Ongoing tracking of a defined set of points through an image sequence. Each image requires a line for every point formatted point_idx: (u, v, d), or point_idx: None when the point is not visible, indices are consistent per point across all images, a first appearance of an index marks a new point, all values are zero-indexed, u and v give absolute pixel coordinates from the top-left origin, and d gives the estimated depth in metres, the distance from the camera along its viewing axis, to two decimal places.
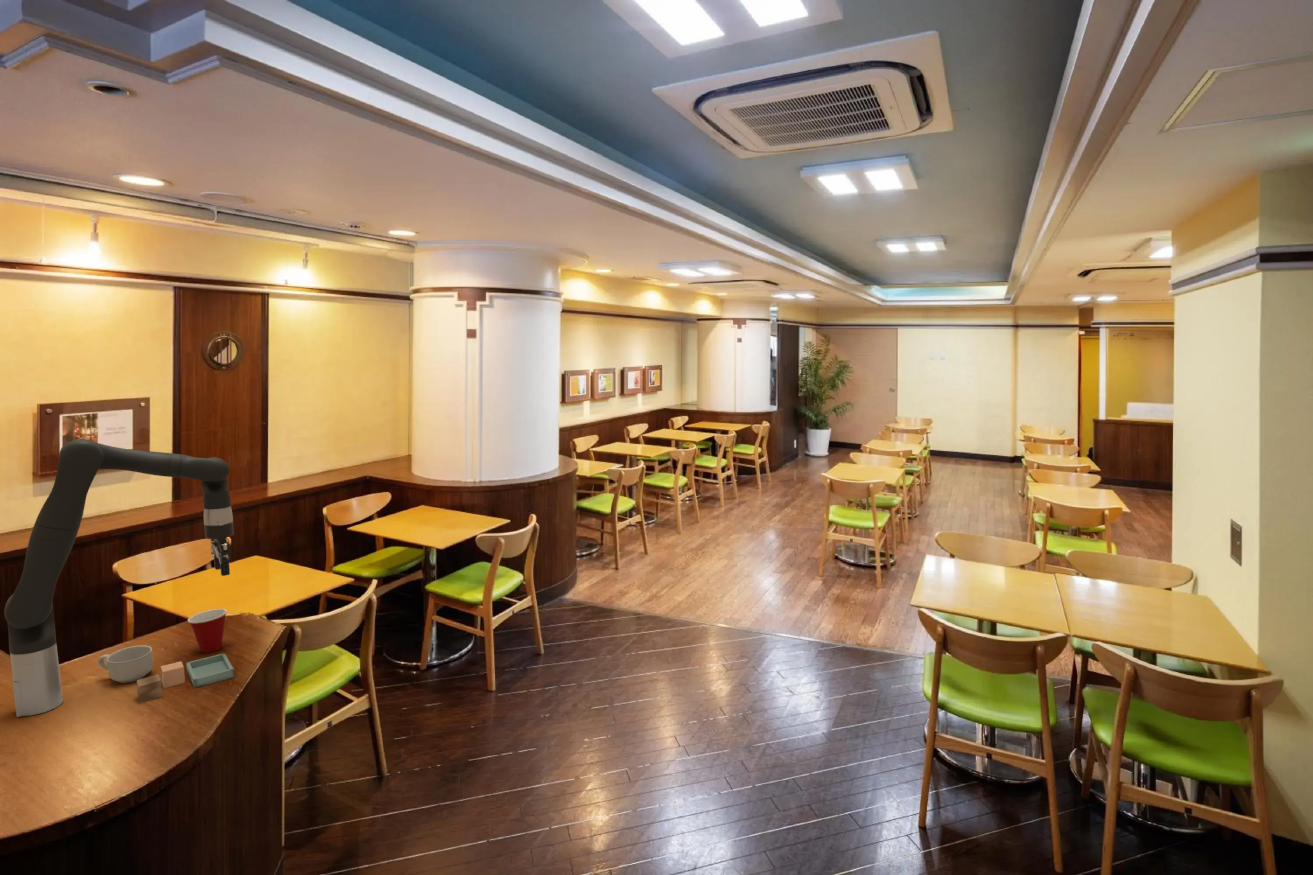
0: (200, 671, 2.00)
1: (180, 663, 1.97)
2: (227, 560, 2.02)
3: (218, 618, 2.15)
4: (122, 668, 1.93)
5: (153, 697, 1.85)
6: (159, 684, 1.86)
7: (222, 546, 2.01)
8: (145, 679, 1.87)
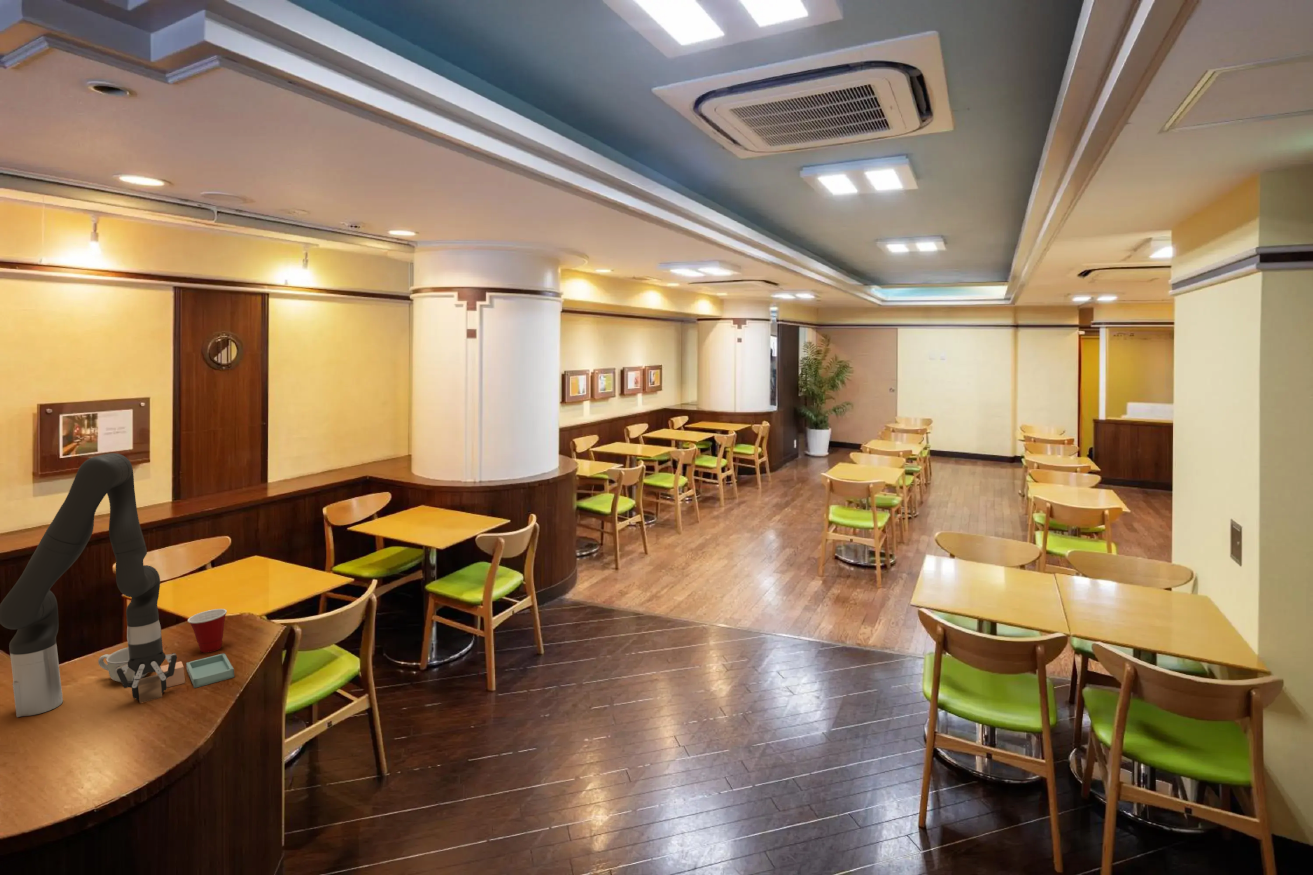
0: (200, 671, 2.00)
1: (180, 663, 1.97)
2: None
3: (218, 618, 2.15)
4: None
5: (153, 697, 1.85)
6: (159, 684, 1.86)
7: None
8: (145, 679, 1.87)
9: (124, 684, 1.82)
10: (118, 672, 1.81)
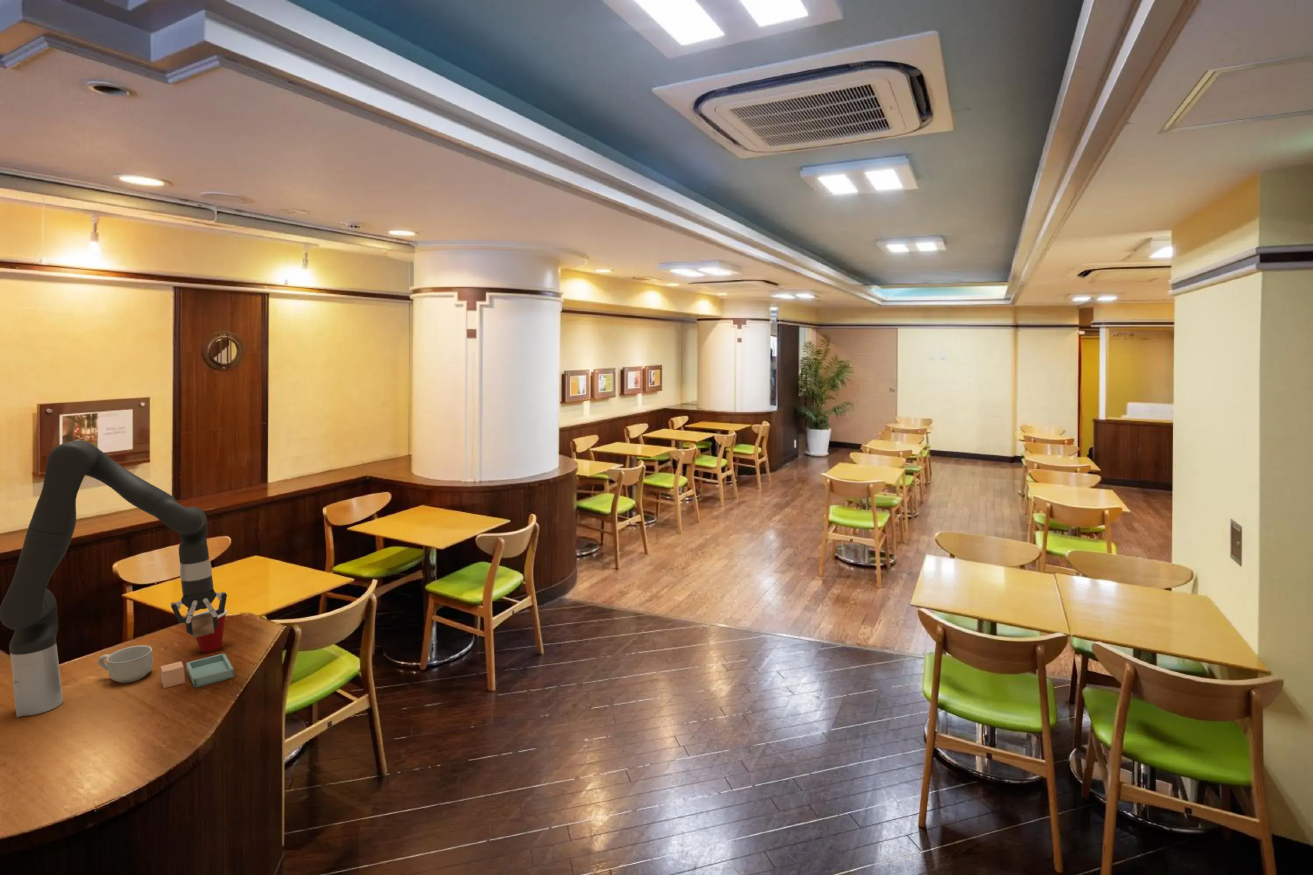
0: (200, 671, 2.00)
1: (180, 663, 1.97)
2: None
3: (218, 618, 2.15)
4: (122, 668, 1.93)
5: (206, 632, 1.93)
6: (211, 620, 1.94)
7: None
8: (197, 616, 1.95)
9: (179, 619, 1.90)
10: (173, 607, 1.89)
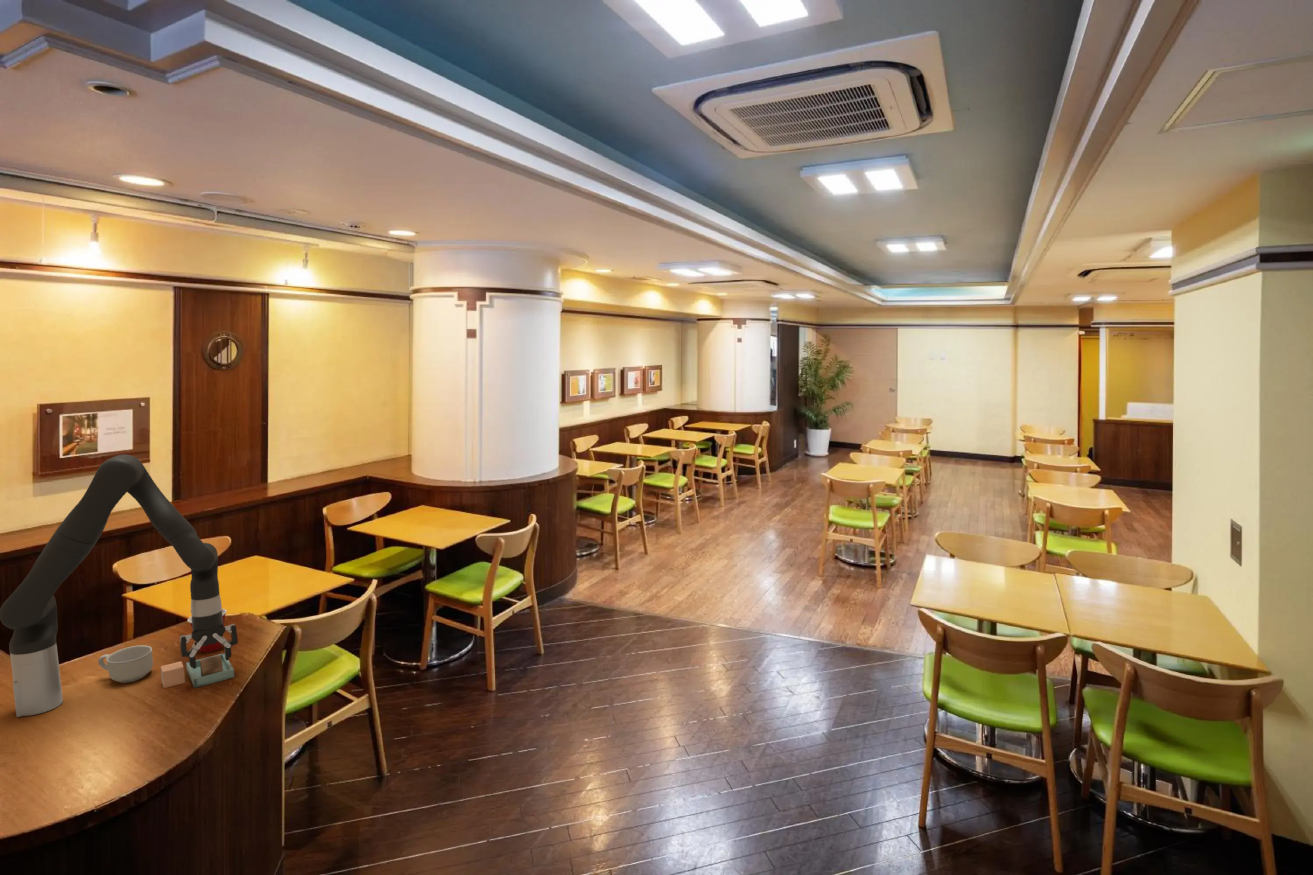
0: (200, 671, 2.00)
1: (180, 663, 1.97)
2: None
3: None
4: (122, 668, 1.93)
5: None
6: (221, 664, 1.97)
7: None
8: (207, 659, 1.98)
9: (182, 653, 1.92)
10: (182, 640, 1.91)
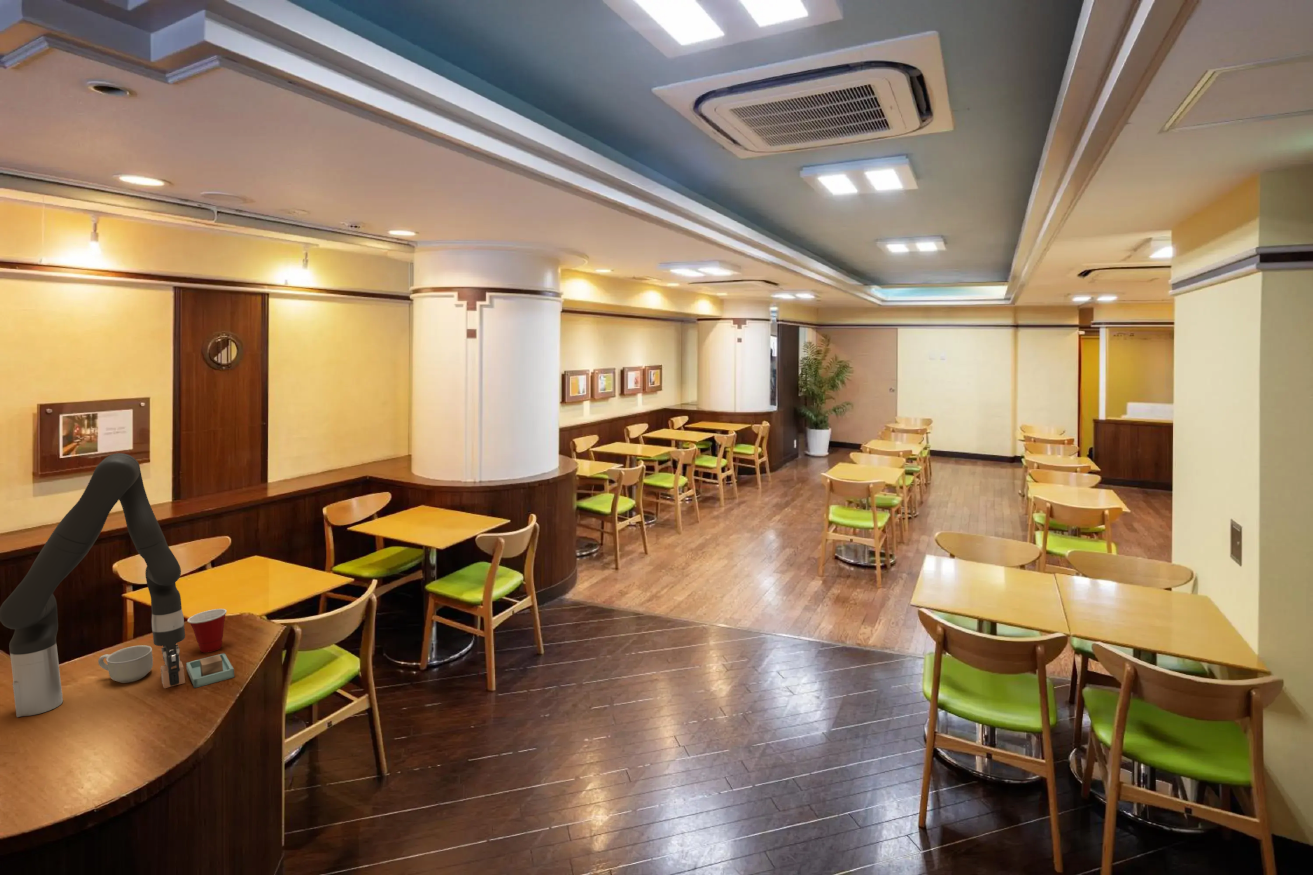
0: (200, 671, 2.00)
1: (180, 663, 1.97)
2: None
3: (218, 618, 2.15)
4: (122, 668, 1.93)
5: None
6: (221, 664, 1.97)
7: None
8: (207, 659, 1.98)
9: None
10: (178, 656, 1.90)
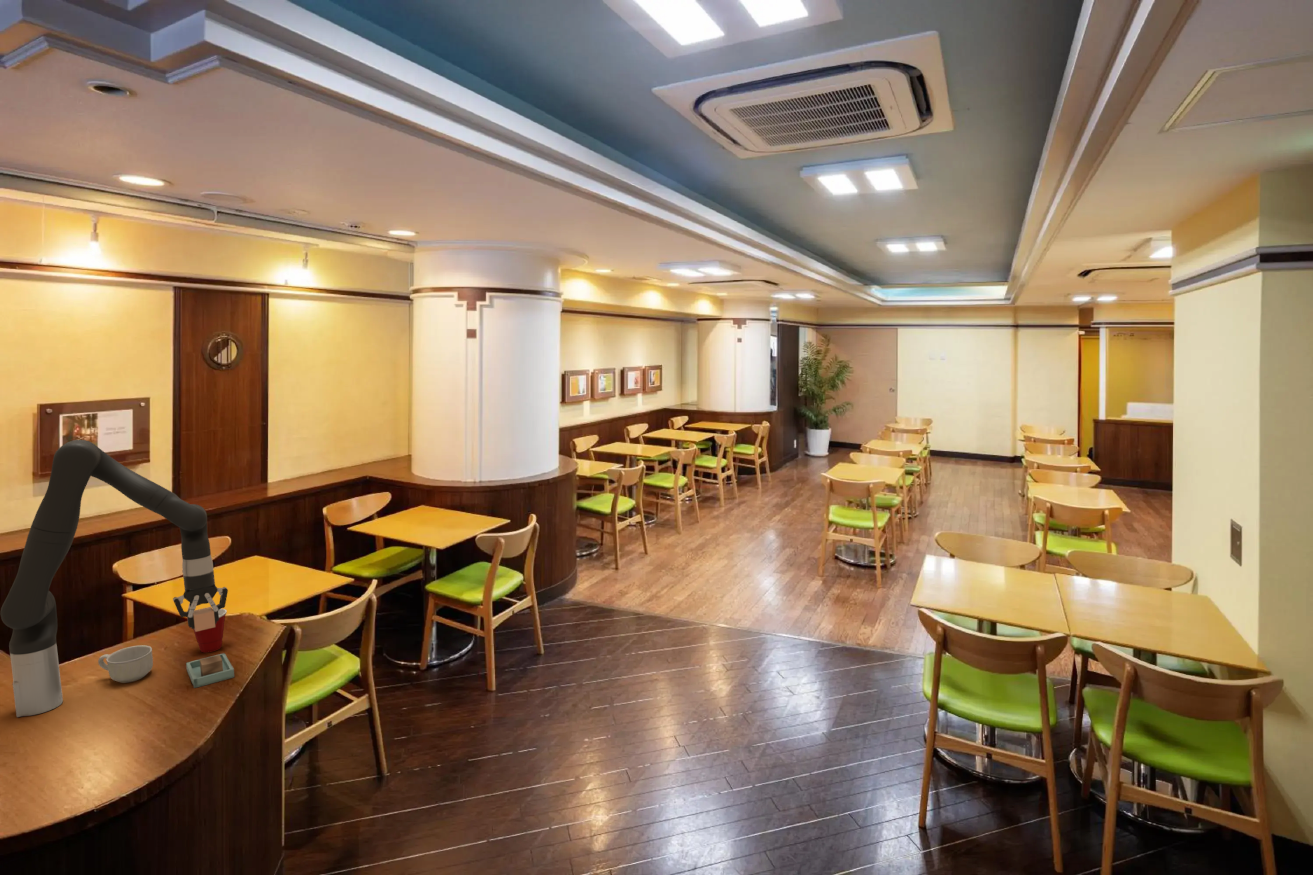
0: (200, 671, 2.00)
1: (206, 612, 1.98)
2: None
3: None
4: (122, 668, 1.93)
5: None
6: (221, 664, 1.97)
7: None
8: (207, 659, 1.98)
9: (181, 613, 1.95)
10: (175, 602, 1.94)
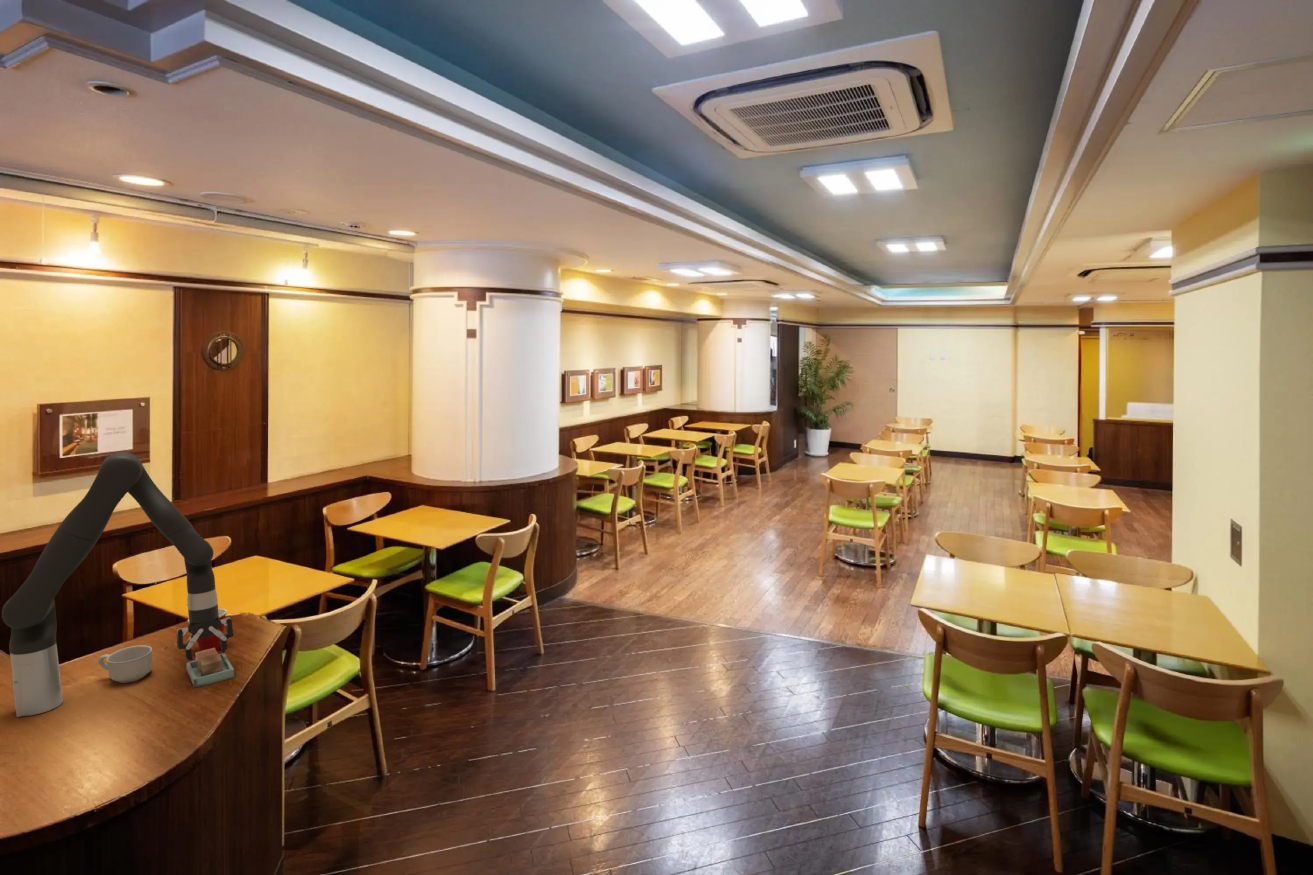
0: None
1: (210, 654, 2.01)
2: None
3: None
4: (122, 668, 1.93)
5: None
6: (221, 664, 1.97)
7: None
8: (207, 659, 1.98)
9: (179, 646, 1.97)
10: (179, 632, 1.96)
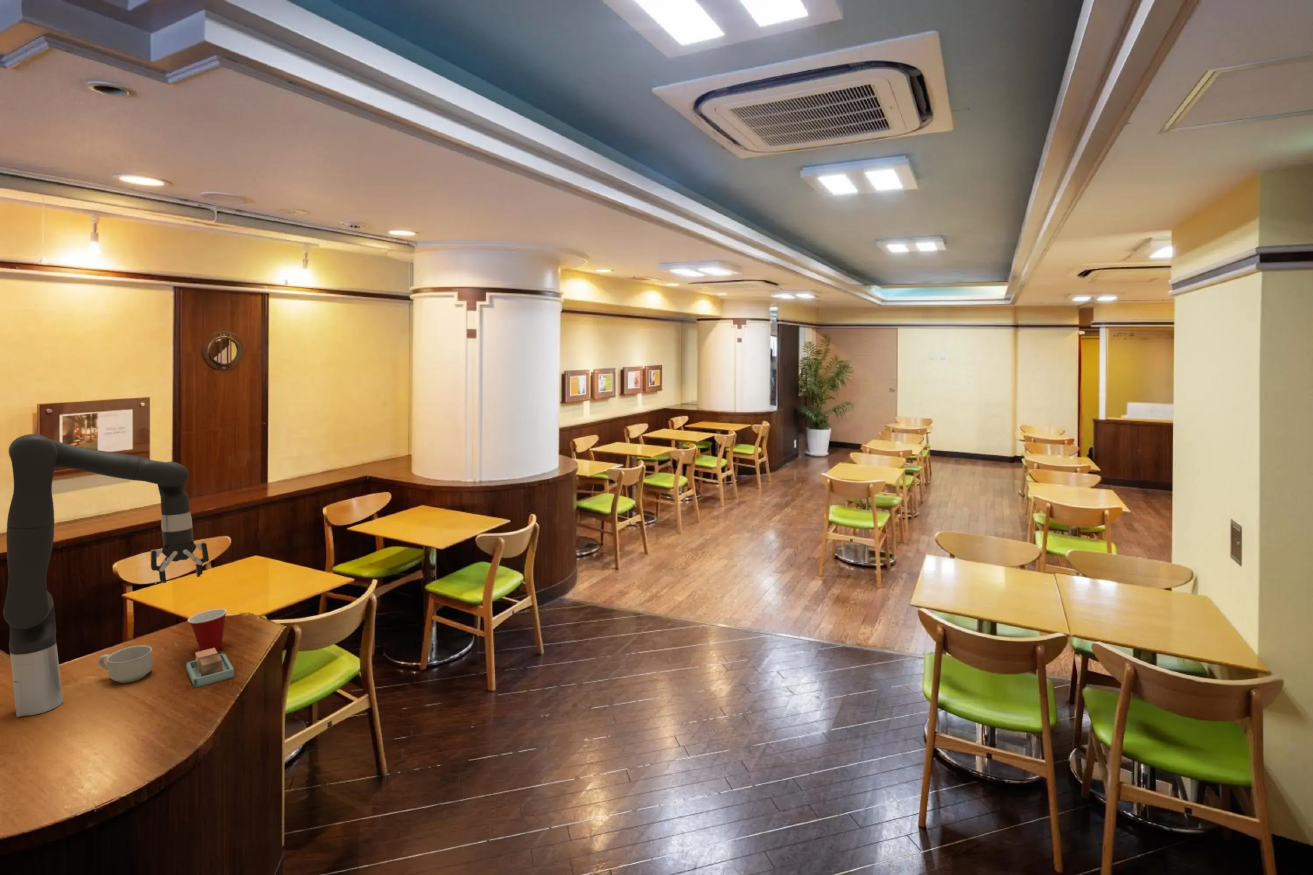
0: None
1: (210, 654, 2.01)
2: None
3: (218, 618, 2.15)
4: (122, 668, 1.93)
5: None
6: (221, 664, 1.97)
7: None
8: (207, 659, 1.98)
9: (152, 567, 1.96)
10: (152, 553, 1.96)
